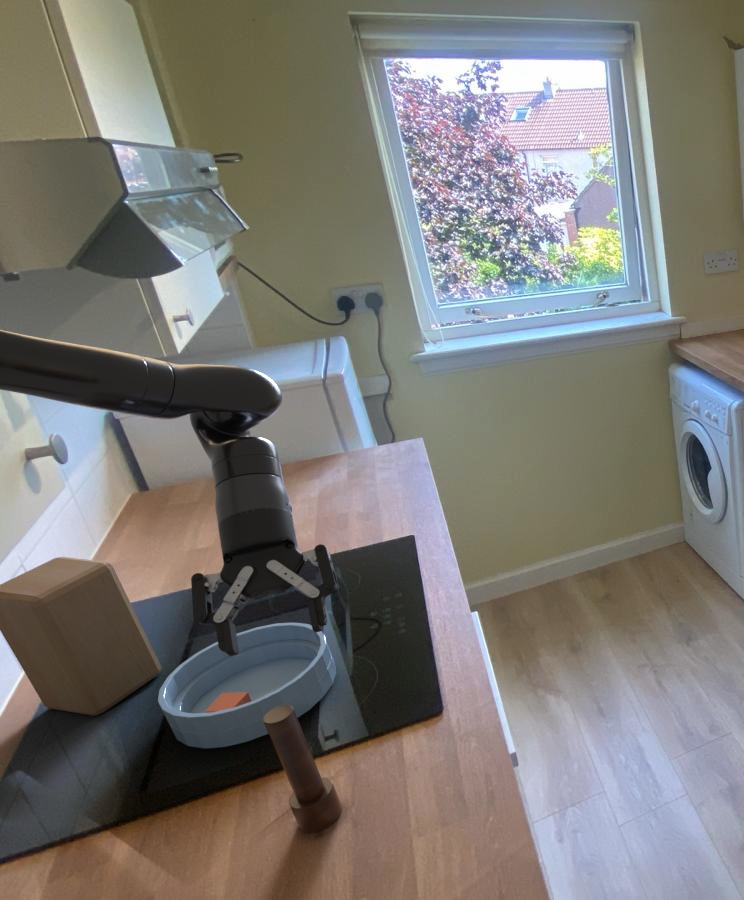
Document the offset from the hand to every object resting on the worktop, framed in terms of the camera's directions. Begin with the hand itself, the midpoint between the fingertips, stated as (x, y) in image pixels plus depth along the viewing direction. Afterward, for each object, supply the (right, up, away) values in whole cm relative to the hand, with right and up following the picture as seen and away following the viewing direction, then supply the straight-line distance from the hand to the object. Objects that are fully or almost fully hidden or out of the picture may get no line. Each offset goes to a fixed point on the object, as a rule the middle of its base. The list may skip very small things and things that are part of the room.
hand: (276, 642), depth 87 cm
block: (-15, -14, +13) cm, 25 cm away
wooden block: (-39, -13, +20) cm, 46 cm away
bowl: (-15, -13, +18) cm, 27 cm away
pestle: (+6, -21, -1) cm, 21 cm away
